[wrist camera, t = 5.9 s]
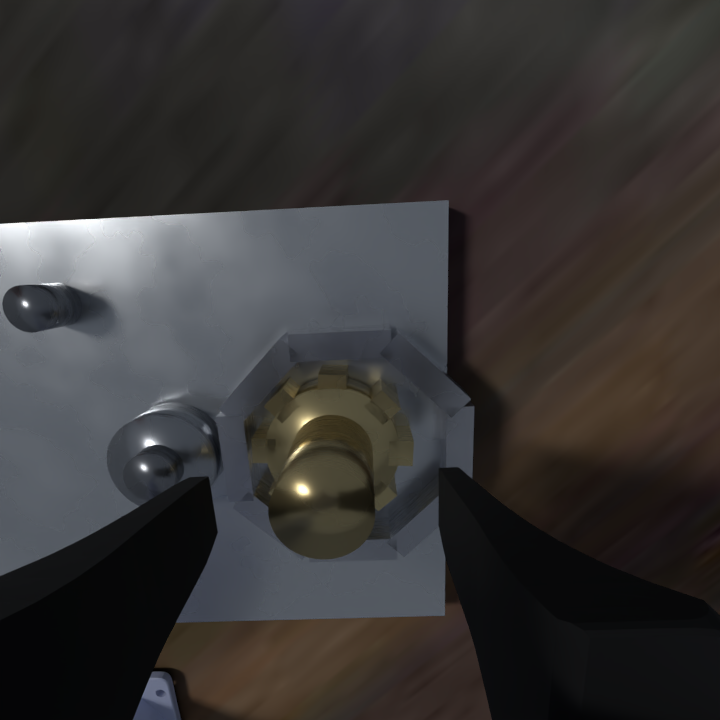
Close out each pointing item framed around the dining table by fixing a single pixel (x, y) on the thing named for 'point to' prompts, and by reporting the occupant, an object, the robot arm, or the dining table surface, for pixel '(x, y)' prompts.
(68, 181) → the dining table surface
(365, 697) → the dining table surface
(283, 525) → the gear
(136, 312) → the carrier plate
